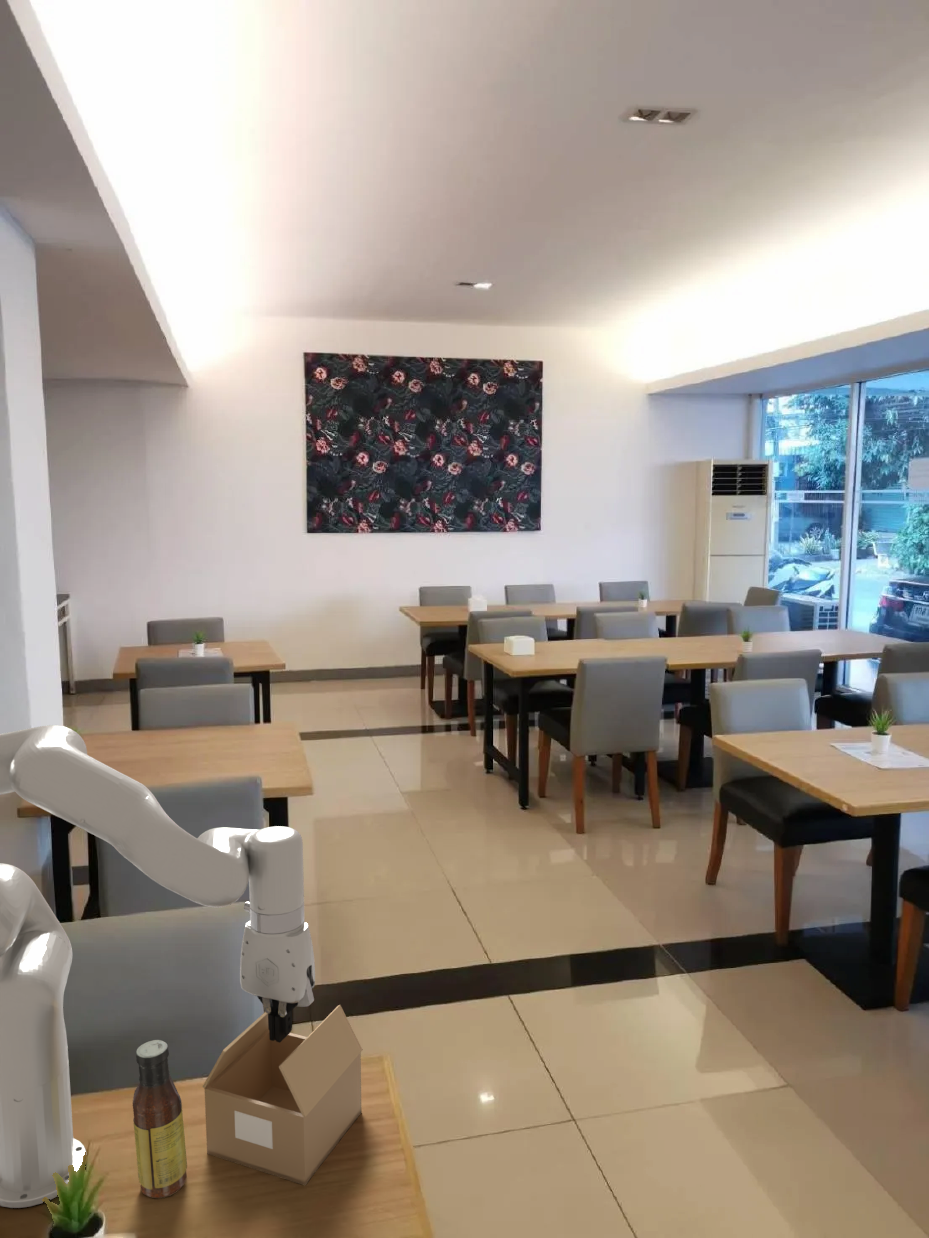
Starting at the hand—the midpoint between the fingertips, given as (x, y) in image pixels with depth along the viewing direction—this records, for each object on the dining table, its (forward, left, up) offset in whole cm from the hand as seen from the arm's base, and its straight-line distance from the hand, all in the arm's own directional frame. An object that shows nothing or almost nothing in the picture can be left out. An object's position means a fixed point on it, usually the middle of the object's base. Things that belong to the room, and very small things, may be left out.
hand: (280, 1035), depth 133 cm
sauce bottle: (-9, -15, -15) cm, 23 cm away
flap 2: (+7, 0, -2) cm, 7 cm away
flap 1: (-6, 0, -2) cm, 6 cm away
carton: (+1, 0, -15) cm, 15 cm away
